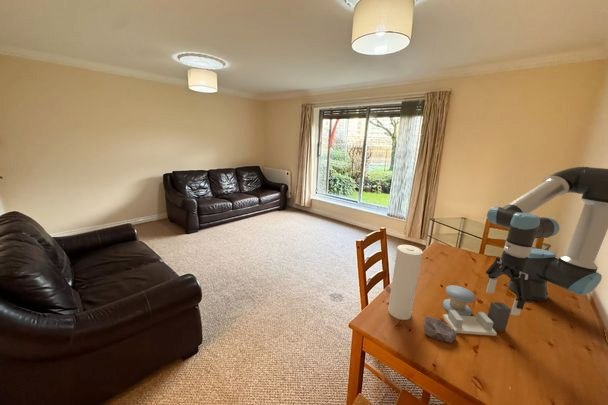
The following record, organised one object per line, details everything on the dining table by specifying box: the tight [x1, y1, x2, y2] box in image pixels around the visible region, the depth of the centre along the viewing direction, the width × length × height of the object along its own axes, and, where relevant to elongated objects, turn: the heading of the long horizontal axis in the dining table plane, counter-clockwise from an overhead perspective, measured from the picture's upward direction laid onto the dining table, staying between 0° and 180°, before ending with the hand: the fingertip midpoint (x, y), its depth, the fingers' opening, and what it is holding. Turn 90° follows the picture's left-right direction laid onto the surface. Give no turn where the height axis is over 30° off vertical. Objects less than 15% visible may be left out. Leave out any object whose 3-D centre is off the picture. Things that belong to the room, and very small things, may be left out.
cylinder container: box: [387, 244, 424, 321], centre depth 103 cm, size 9×9×30 cm
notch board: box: [442, 310, 497, 337], centre depth 100 cm, size 16×9×5 cm, turn 87°
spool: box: [442, 284, 476, 316], centre depth 110 cm, size 11×11×8 cm
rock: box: [423, 316, 458, 343], centre depth 95 cm, size 8×11×4 cm
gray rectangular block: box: [487, 301, 512, 332], centre depth 99 cm, size 5×4×10 cm
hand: (501, 303), depth 98 cm, fingers open, 13 cm apart
